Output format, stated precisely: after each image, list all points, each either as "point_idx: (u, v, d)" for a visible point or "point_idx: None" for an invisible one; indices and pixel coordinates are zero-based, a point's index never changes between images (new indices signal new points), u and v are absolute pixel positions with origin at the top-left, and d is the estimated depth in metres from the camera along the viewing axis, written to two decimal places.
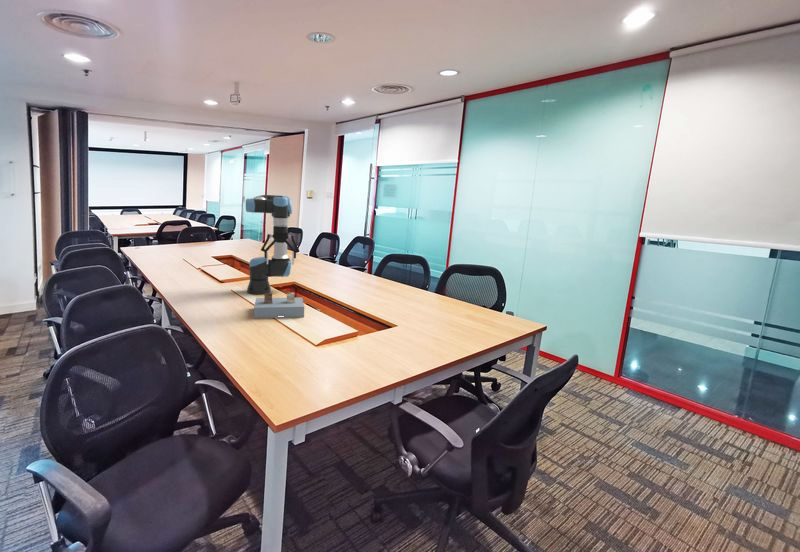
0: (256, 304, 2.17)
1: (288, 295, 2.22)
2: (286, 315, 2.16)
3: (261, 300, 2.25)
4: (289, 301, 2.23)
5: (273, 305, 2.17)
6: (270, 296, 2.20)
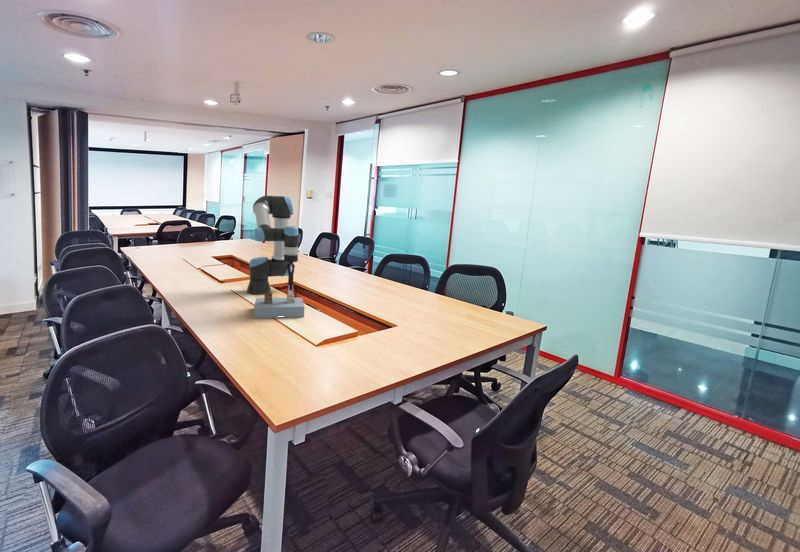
0: (256, 304, 2.17)
1: (288, 297, 2.23)
2: (286, 315, 2.16)
3: (261, 300, 2.25)
4: None
5: (273, 305, 2.17)
6: (270, 296, 2.20)
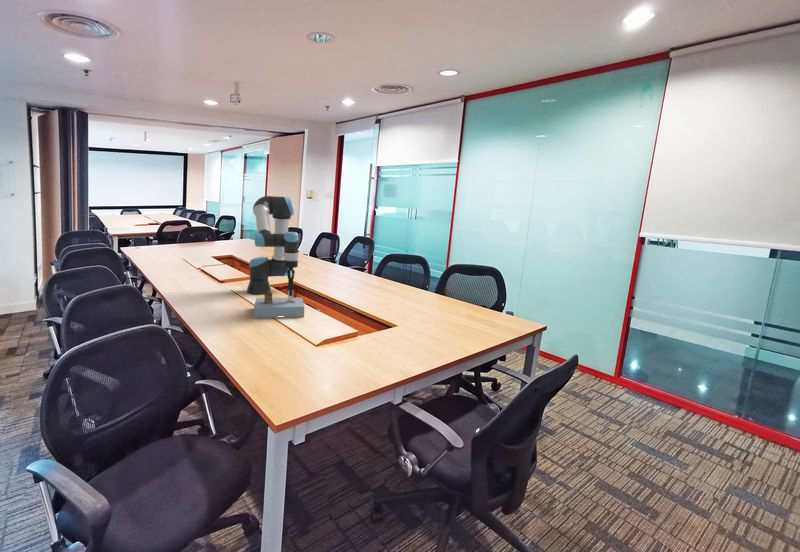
0: (256, 304, 2.17)
1: None
2: (286, 315, 2.16)
3: (261, 300, 2.25)
4: None
5: (273, 305, 2.17)
6: (270, 296, 2.20)
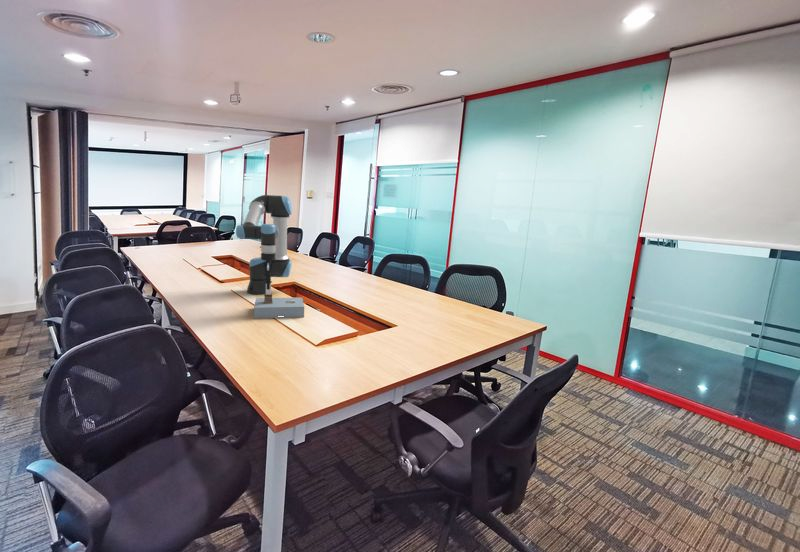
0: (256, 304, 2.17)
1: None
2: (286, 315, 2.16)
3: (261, 300, 2.25)
4: None
5: (273, 305, 2.17)
6: (270, 297, 2.20)
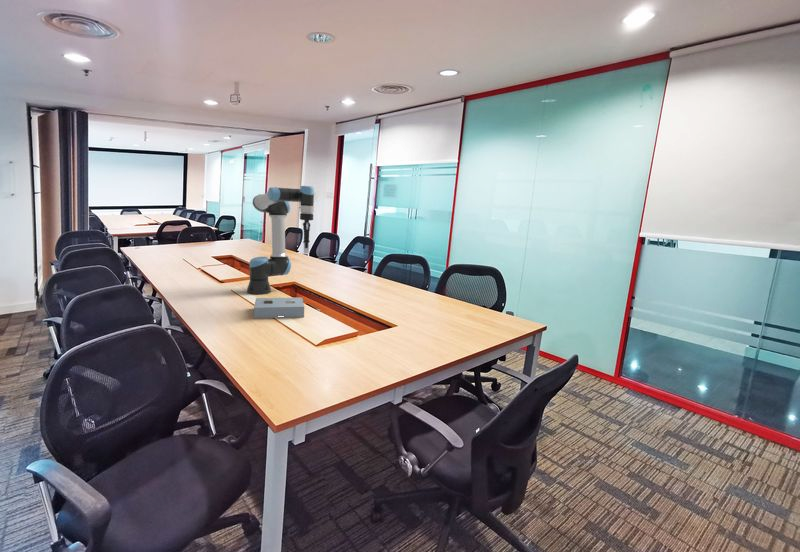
0: (256, 304, 2.17)
1: None
2: (286, 315, 2.16)
3: (261, 300, 2.25)
4: None
5: (273, 305, 2.17)
6: None
